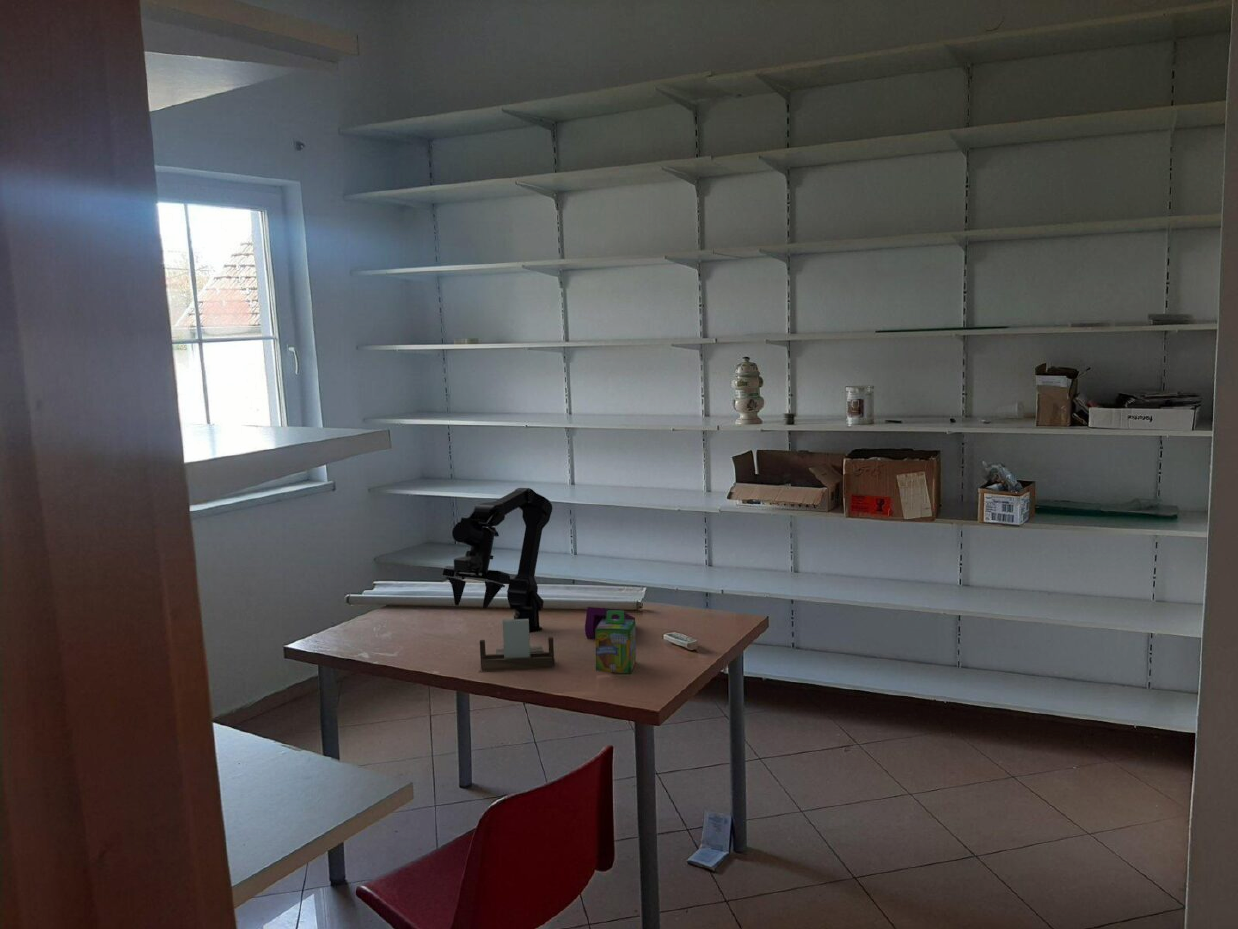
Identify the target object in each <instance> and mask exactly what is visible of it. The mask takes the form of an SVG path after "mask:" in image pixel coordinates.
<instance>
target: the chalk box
mask: <svg viewBox="0 0 1238 929" xmlns="http://www.w3.org/2000/svg"><path fill="white" fill-rule="evenodd" d="M625 613H626V612H625V610H623V609H619V610H608V611H607V613H606V619H602V620H601V621H600V623H599V624H598V626H597V627H596V629H595V639H594V641H595V644H594V645H595V671H606V672H607V671H609V672H611V673H612V674H627V675H628V674H629V675H630V674H631V673H632V671H633V670H634V669H633V668H634V667H635V664H636V661H637V657H636V656H637V654H636V653H637V652H636V650H637V645H636V642H637V641H636V620H635V621H634V620H627V619H625ZM614 614H617V615H619V617H620V618H619V619H612V618H611V616H612V615H614Z"/></svg>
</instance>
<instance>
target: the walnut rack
mask: <svg viewBox="0 0 1238 929" xmlns="http://www.w3.org/2000/svg"><path fill="white" fill-rule="evenodd" d="M547 640H548V643H547V644H548V651H543V652H535V653H530V657H528V658H504V654H497V653H490V654H489V653H488V654H487V653H486V640H485V639H480V640H479V653H480V654H479V655H480V669H479V671H478V673H499V672H500V673H501V672H504V673H505V672H524V671H526V672H528V671H549V670H550V671H551V670H555V664H556V659H555V652H554V651H555V650H554V648H555V647H554V637H553V636H549V637H548V639H547Z"/></svg>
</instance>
